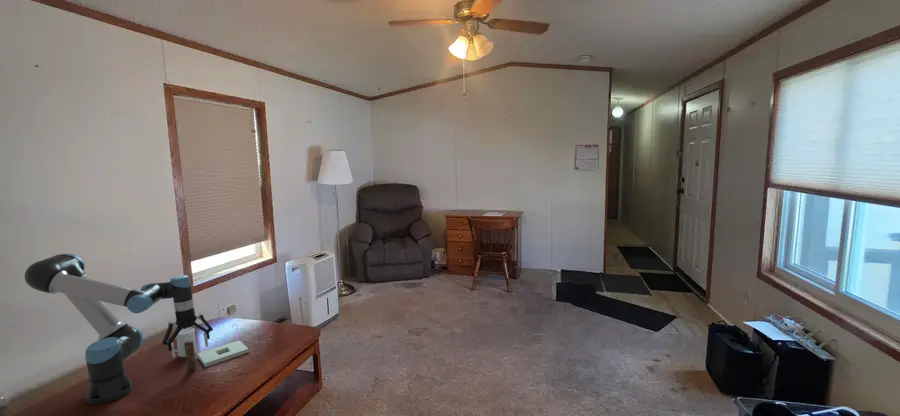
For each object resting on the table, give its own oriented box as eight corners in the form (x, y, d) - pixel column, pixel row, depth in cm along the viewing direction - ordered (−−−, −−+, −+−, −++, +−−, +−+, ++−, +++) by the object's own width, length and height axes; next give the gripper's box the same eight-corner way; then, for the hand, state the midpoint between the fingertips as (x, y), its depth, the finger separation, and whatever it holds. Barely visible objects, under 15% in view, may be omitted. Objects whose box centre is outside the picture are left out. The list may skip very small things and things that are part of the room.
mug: (173, 361, 203) (170, 338, 201) (168, 356, 208) (165, 334, 206) (200, 352, 212) (197, 330, 210) (194, 347, 217) (191, 326, 215)
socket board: (204, 367, 196) (204, 363, 196) (197, 357, 206) (197, 353, 206) (248, 352, 210) (248, 348, 210) (239, 343, 220) (239, 340, 220)
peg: (188, 372, 192) (185, 344, 190) (186, 369, 194) (183, 342, 192) (197, 369, 194) (193, 342, 192) (195, 366, 197) (192, 339, 195)
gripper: (153, 319, 179) (160, 364, 182) (216, 302, 196) (221, 344, 199) (150, 314, 184) (157, 358, 187) (212, 299, 201) (217, 339, 204)
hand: (190, 351), depth 193 cm, fingers open, 13 cm apart
